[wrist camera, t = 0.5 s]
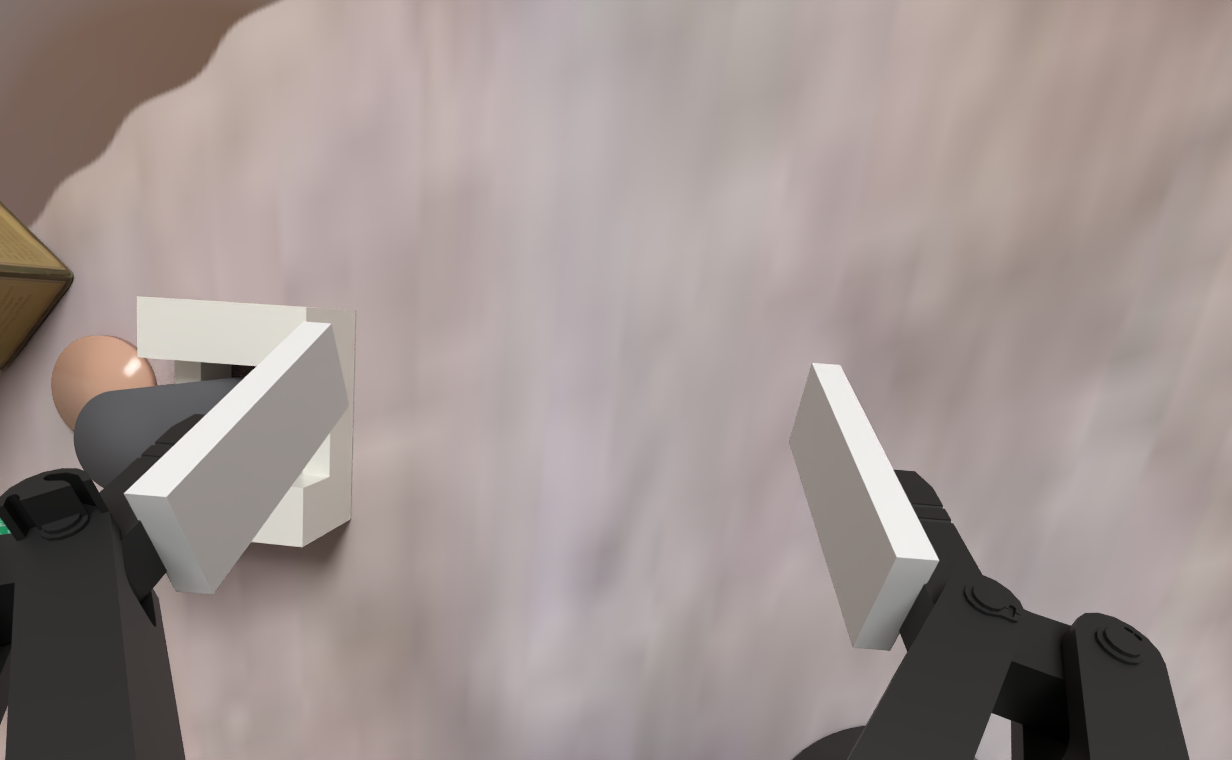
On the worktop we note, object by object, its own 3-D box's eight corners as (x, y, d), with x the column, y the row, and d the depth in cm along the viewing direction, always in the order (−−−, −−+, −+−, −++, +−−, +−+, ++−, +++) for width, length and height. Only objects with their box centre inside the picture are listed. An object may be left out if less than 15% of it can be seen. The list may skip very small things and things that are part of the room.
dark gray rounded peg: (313, 450, 38) (169, 498, 27) (244, 443, 39) (74, 488, 28) (315, 375, 38) (168, 394, 27) (244, 370, 38) (72, 386, 27)
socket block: (350, 519, 38) (302, 547, 33) (206, 504, 39) (139, 530, 34) (355, 310, 37) (306, 307, 32) (207, 300, 38) (136, 296, 33)
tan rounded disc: (157, 445, 39) (149, 447, 39) (61, 436, 40) (52, 438, 39) (157, 339, 39) (149, 339, 38) (59, 332, 39) (50, 332, 39)
